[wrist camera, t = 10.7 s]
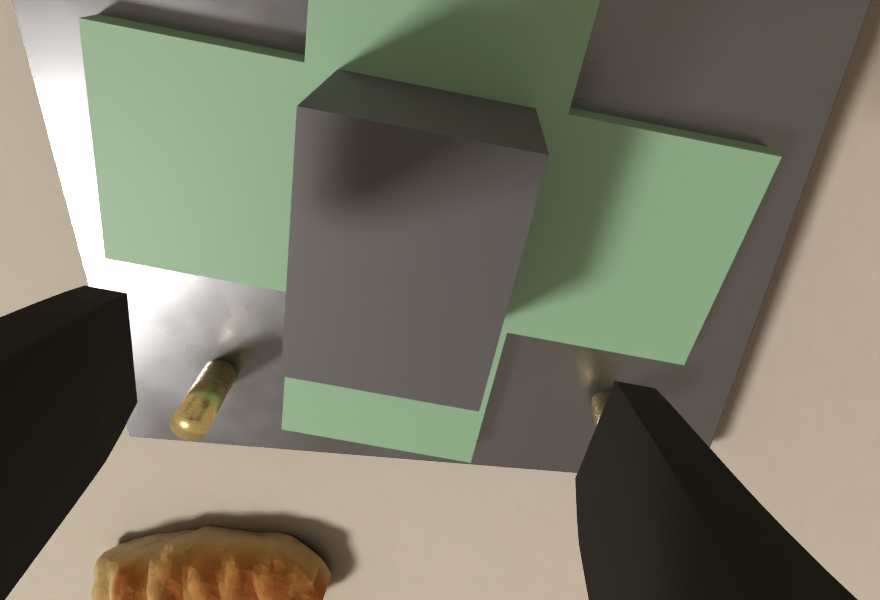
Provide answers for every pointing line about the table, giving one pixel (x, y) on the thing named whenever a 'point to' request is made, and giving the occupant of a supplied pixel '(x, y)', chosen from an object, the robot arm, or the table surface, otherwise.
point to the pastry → (211, 567)
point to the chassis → (523, 358)
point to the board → (581, 231)
